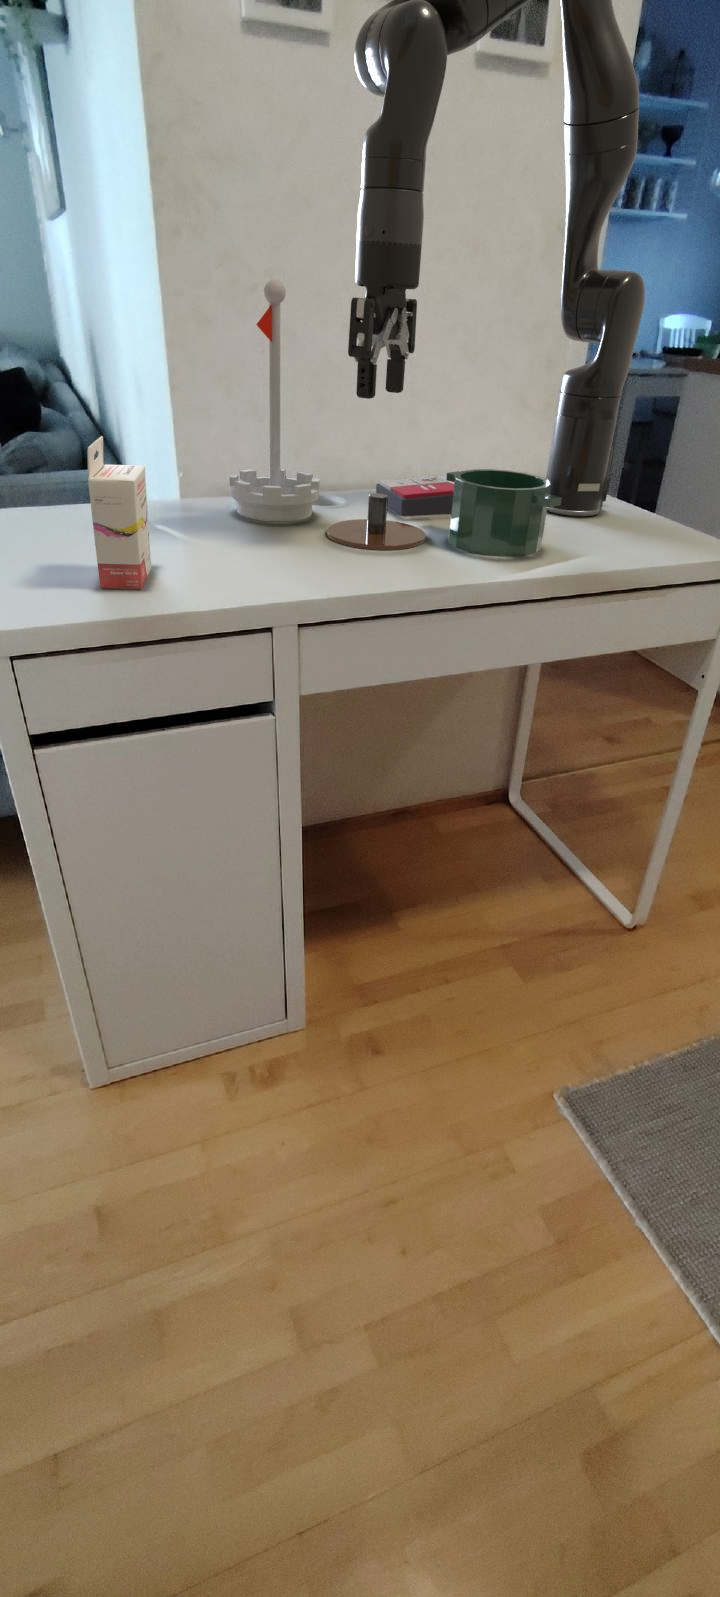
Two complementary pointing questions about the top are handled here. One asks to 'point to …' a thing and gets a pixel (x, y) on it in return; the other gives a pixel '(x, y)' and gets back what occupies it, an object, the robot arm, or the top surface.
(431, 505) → the grey red flat block
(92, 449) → the ink cartridge box
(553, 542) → the top surface
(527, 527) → the pot
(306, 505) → the flag stand
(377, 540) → the lid
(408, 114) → the robot arm
